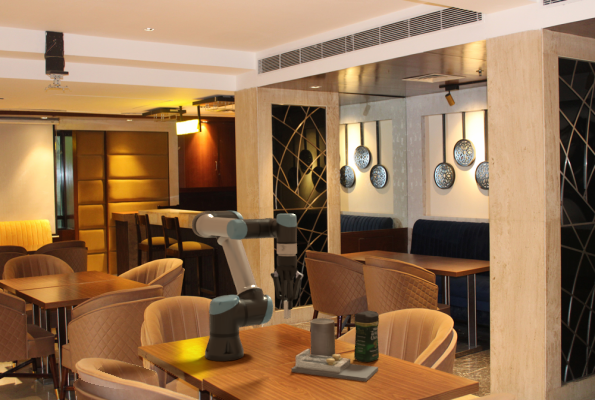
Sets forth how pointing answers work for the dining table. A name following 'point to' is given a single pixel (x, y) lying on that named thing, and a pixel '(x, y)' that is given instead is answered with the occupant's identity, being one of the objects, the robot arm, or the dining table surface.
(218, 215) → the robot arm
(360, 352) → the coffee jar
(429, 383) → the dining table surface
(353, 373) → the board
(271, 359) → the dining table surface
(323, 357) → the keyhole panel
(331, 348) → the pillar candle
